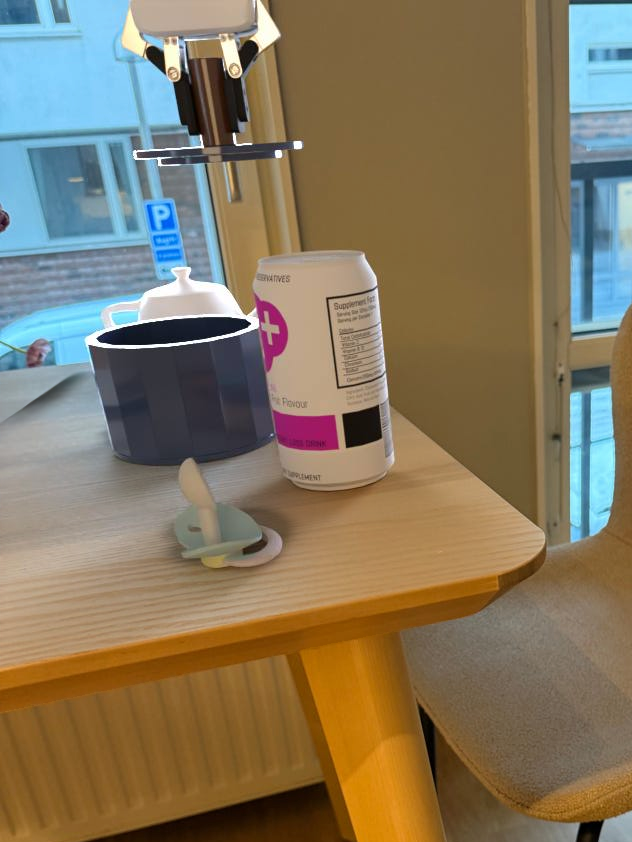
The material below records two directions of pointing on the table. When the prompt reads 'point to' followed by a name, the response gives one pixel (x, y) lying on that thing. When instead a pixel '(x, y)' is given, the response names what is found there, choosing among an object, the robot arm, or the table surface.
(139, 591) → the table surface
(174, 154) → the lid
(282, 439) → the supplement can
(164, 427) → the canister
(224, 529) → the pacifier
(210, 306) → the teapot
